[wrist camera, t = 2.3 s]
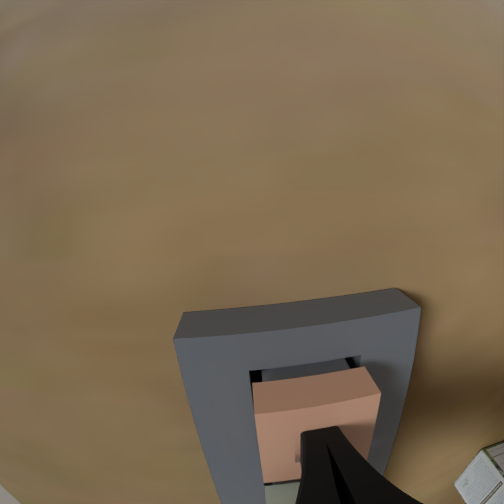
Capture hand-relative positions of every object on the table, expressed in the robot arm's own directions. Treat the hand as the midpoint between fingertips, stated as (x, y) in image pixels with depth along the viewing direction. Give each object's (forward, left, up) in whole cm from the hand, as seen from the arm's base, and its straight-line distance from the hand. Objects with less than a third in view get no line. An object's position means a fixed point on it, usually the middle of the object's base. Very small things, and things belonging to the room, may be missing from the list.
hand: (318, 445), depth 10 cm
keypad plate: (-5, 0, -5) cm, 7 cm away
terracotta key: (0, 0, -5) cm, 5 cm away
